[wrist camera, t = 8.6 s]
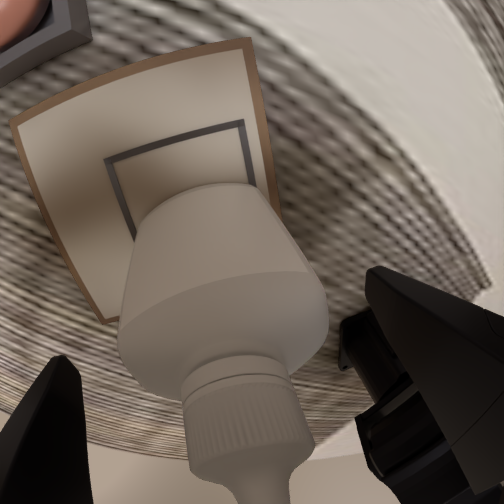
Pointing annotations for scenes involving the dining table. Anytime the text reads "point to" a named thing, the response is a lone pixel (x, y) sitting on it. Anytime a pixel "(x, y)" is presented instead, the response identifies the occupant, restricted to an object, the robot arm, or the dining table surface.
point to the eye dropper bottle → (225, 333)
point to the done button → (19, 20)
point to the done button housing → (47, 39)
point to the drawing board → (141, 153)
